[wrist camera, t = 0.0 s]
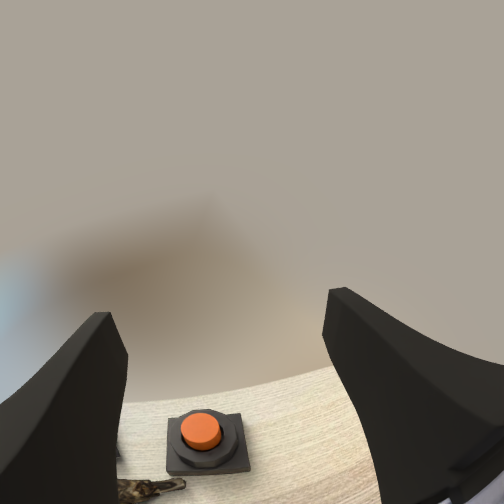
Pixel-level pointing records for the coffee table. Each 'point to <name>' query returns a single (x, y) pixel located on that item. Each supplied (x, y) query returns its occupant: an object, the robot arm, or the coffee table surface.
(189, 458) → the switch box
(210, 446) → the box button
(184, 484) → the bird model
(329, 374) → the coffee table surface
